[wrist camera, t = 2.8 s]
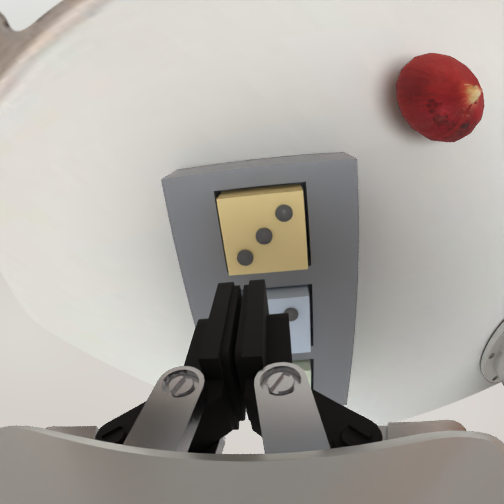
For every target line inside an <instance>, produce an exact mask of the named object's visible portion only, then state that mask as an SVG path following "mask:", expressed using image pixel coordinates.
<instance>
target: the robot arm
mask: <svg viewBox="0 0 504 504" xmlns="http://www.w3.org/2000/svg"><path fill="white" fill-rule="evenodd" d="M481 372H482V374H483V376H484V377H485V379H486V380H487V381H489V382H491V383H498V382H502V383H503V385H504V321H503V323H502V324H501V325H500V326H499V328H498V329H497V330H496V331H495V333H494V334H493V336H492V337H491V339H490V341H489V343H488V344H487V346H486V348H485V351H484V353H483V356H482V360H481ZM246 410H247V414H248V418H249V420H250V421H251V425H252V429H253V430H254V431H255V432H256V433H257V434H259V435H260V436H261V437H262V438H263V445H264V450H265V454H222V451H223V448H224V445H225V435H227V434H228V433H229V432H231V431H232V430H236V429H237V430H238V429H239V421H243V420H245V412H246ZM0 504H504V444H503V442H502V441H500V440H499V439H498V438H496V437H494V436H492V435H489V434H486V433H481V432H474V431H466V429H465V428H464V427H463V426H462V425H461V424H460V423H458V422H456V421H453V420H440V421H424V422H399V423H398V422H395V423H388V425H387V426H377V425H376V424H375V423H373V422H372V421H371V420H369V419H367V418H365V417H363V416H361V415H359V414H357V413H355V412H354V411H352V410H350V409H348V408H346V407H344V406H342V405H341V404H339V403H337V402H335V401H333V400H331V399H330V398H328V397H326V396H324V395H322V394H321V393H319V392H317V391H315V390H314V389H312V388H311V387H310V384H309V381H308V378H307V375H306V374H305V372H304V370H303V369H302V368H300V367H299V366H297V365H295V364H292V350H291V338H290V326H289V314H288V313H279V314H269V308H268V300H267V292H266V284H265V279H260V280H250V281H249V284H248V285H244V287H243V295H242V294H241V288H240V285H236V286H235V284H234V282H225V283H218V285H217V289H216V293H215V296H214V300H213V304H212V308H211V311H210V315H209V318H208V319H199V320H198V322H197V325H196V328H195V331H194V334H193V338H192V341H191V344H190V347H189V351H188V354H187V357H186V361H185V364H184V366H180V367H175V368H173V369H170V370H168V371H167V372H165V373H164V374H163V375H162V376H161V377H160V378H159V380H158V381H157V383H156V385H155V387H154V389H153V390H152V393H151V394H150V396H149V398H148V400H147V401H146V402H144V403H142V404H140V405H139V406H137V407H135V408H133V409H132V410H130V411H128V412H126V413H124V414H123V415H121V416H119V417H117V418H115V419H114V420H112V421H110V422H108V423H106V424H105V425H103V426H102V427H101V428H100V429H98V428H97V426H82V427H81V426H79V427H78V426H77V427H54V426H53V427H47V428H46V429H44V428H38V427H31V426H8V427H2V428H0Z"/></svg>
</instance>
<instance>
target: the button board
mask: <svg viewBox="0 0 504 504" xmlns="http://www.w3.org/2000/svg"><path fill="white" fill-rule="evenodd" d="M161 181H162V186H163V191H164V196H165V201H166V206H167V211H168V216H169V221H170V225H171V230H172V234H173V239H174V243H175V248H176V252H177V256H178V261H179V265H180V269H181V273H182V277H183V281H184V285H185V289H186V293H187V297H188V301H189V305H190V309H191V312H192V316H193V320H194V323H195V327H196V325H197V322H198V320H199V319H208V318H209V315H210V311H211V308H212V304H213V300H214V296H215V293H216V289H217V285H218V283H225V282H234V284H235V286H236V285H240V288H241V290H243V287H244V285H248V284H249V281H250V280H260V279H265V284H266V288H273V287H285V286H297V285H307V286H308V292H309V304H310V340H311V352H306V353H294V354H292V361H293V360H305V359H310V367H311V388H312V389H314V390H315V391H317V392H319V393H321V394H322V395H324V396H326V397H328V398H330V399H331V400H333V401H335V402H337V403H339V404H341V405H347V397H348V390H349V382H350V373H351V364H352V354H353V344H354V332H355V318H356V302H357V282H358V243H359V215H358V176H357V159H356V158H354V157H352V156H350V155H348V154H346V153H345V152H340V153H322V154H308V155H295V156H283V157H273V158H263V159H254V160H245V161H236V162H228V163H221V164H213V165H206V166H199V167H193V168H186V169H180V170H176V171H175V172H173V173H171V174H170V175H168V176H166V177H165V178H163V179H162V180H161ZM289 184H300V185H301V187H302V190H303V198H304V211H305V225H306V241H307V258H308V269H304V270H292V271H281V272H269V273H256V274H244V275H231V276H229V272H228V266H227V260H226V254H225V249H224V243H223V237H222V231H221V225H220V219H219V213H218V206H217V200H216V199H217V198H218V196H219V195H220V193H221V192H222V191H231V190H239V189H248V188H258V187H268V186H278V185H289ZM246 412H247V410H246Z"/></svg>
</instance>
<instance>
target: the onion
mask: <svg viewBox="0 0 504 504" xmlns="http://www.w3.org/2000/svg"><path fill="white" fill-rule="evenodd" d="M396 93H397V102H398V105H399V107H400V110H401V113H402V115H403V117H404V118H405V119H406V121H407V122H408V123H409V124H410V126H411V127H412V128H413V129H414V130H416V131H417V132H419V133H420V134H422V135H423V136H425V137H426V138H428V139H430V140H433V141H443V142H455V141H457V140H460V139H461V138H463V137H465V136H467V135H468V134H470V133H471V132H472V131H473V129H474V128H475V126H476V125H477V124H478V123H479V121H480V120H481V118H482V114H483V110H484V98H483V92H482V88H481V87H480V84H479V82H478V79H477V78H476V77H475V75H474V74H473V73H472V72H471V71H470V69H469V68H468V67H467V66H465V65H464V64H462V63H461V62H459V61H458V60H456V59H455V58H453V57H451V56H447V55H442V54H436V53H428V54H424V55H420V56H417V57H414V58H413V59H412V60H411V61H410V62H409V63H408V64H407V65H406V66H405V67H403V69H402V70H401V72H400V75H399V78H398V80H397V83H396Z"/></svg>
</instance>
